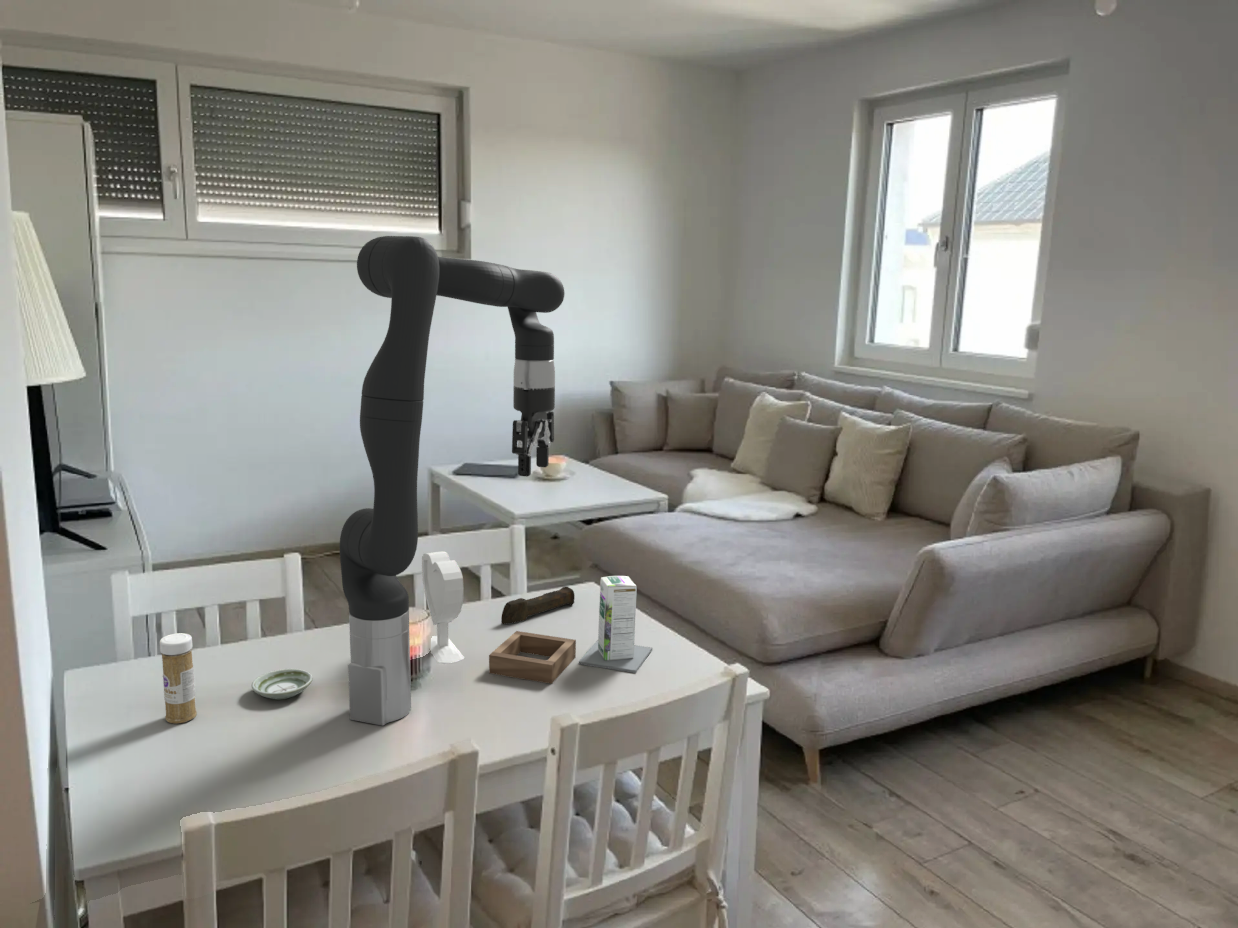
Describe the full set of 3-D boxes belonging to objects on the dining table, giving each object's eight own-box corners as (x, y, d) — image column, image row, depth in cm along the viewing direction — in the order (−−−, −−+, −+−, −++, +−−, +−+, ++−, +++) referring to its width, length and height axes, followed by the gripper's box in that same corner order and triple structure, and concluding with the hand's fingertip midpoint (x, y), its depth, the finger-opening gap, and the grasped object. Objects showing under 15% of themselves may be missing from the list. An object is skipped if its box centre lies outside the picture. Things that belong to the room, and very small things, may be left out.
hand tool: (563, 601, 202) (563, 581, 201) (575, 606, 199) (575, 585, 198) (493, 622, 189) (493, 601, 188) (505, 628, 186) (505, 606, 185)
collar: (551, 683, 161) (552, 664, 160) (489, 673, 164) (489, 654, 164) (575, 657, 172) (575, 639, 171) (516, 648, 175) (516, 630, 175)
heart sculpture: (419, 636, 180) (417, 547, 176) (444, 632, 182) (443, 544, 179) (441, 666, 166) (440, 571, 163) (468, 662, 169) (467, 568, 165)
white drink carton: (596, 649, 175) (598, 576, 172) (626, 646, 176) (628, 574, 173) (604, 661, 169) (606, 586, 166) (635, 658, 171) (637, 584, 168)
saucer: (287, 676, 161) (286, 663, 161) (325, 689, 157) (324, 676, 156) (239, 696, 153) (238, 683, 153) (278, 712, 148) (277, 698, 148)
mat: (635, 672, 166) (635, 670, 166) (578, 663, 169) (578, 661, 169) (652, 649, 176) (652, 647, 176) (597, 641, 179) (597, 639, 179)
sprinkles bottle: (159, 720, 144) (152, 640, 141) (183, 708, 148) (177, 629, 146) (180, 727, 142) (173, 645, 140) (204, 714, 146) (198, 635, 144)
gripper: (530, 379, 175) (529, 462, 178) (498, 387, 162) (498, 477, 165) (567, 381, 173) (566, 465, 176) (538, 389, 160) (537, 481, 163)
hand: (533, 471), depth 171 cm, fingers open, 8 cm apart
